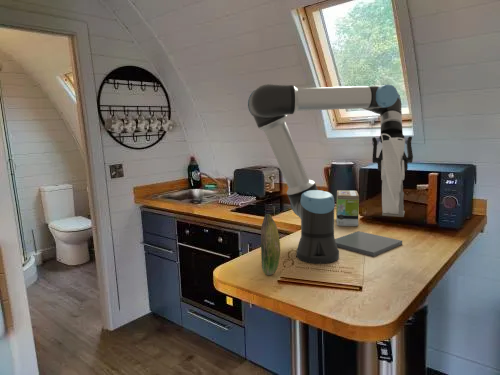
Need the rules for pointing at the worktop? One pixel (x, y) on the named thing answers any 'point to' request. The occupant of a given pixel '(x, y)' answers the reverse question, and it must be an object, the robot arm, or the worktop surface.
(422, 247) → the worktop surface
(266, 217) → the vegetable
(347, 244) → the charcoal board
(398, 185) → the skyscraper
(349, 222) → the tea box
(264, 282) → the worktop surface
